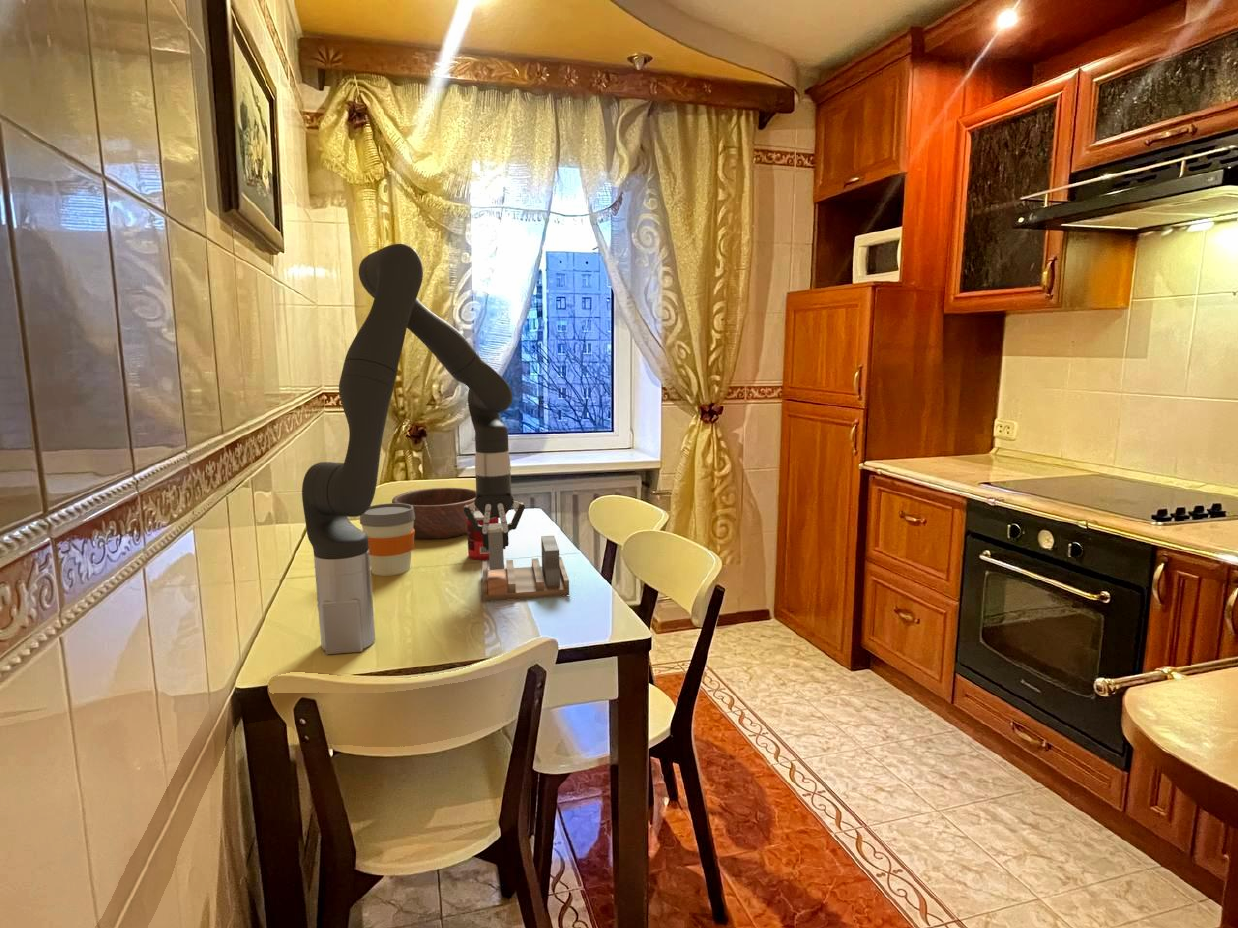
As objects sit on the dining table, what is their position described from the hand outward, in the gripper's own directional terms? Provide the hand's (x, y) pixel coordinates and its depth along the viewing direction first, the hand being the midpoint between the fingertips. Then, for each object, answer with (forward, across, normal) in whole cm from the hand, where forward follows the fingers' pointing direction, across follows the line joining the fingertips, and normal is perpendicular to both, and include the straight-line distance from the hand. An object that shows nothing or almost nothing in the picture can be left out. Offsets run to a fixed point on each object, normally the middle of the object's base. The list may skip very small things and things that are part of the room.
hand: (496, 548), depth 158 cm
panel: (+3, 0, 0) cm, 3 cm away
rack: (+9, +6, 0) cm, 11 cm away
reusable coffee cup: (+9, -25, +18) cm, 32 cm away
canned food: (+9, -3, +25) cm, 27 cm away
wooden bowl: (+9, -16, +53) cm, 56 cm away
